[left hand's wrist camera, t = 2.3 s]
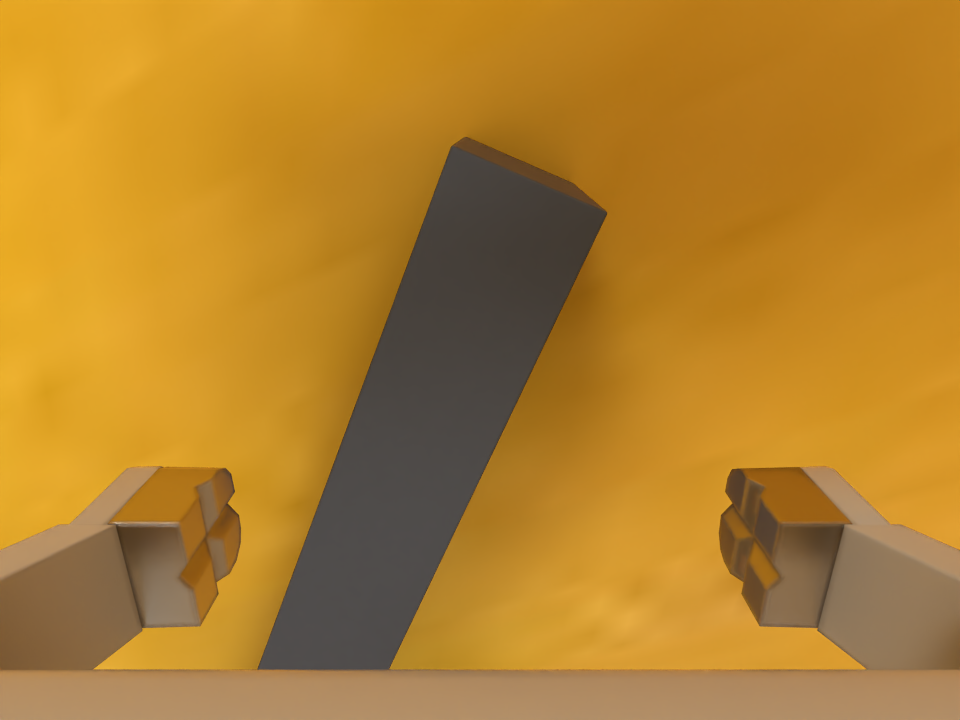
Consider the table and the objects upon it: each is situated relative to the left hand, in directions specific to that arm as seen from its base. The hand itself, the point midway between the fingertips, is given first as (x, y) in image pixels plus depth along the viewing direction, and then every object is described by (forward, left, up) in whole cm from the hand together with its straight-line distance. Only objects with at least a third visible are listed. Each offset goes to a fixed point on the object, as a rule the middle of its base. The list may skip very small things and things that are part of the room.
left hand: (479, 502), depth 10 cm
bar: (+23, +4, -16) cm, 28 cm away
